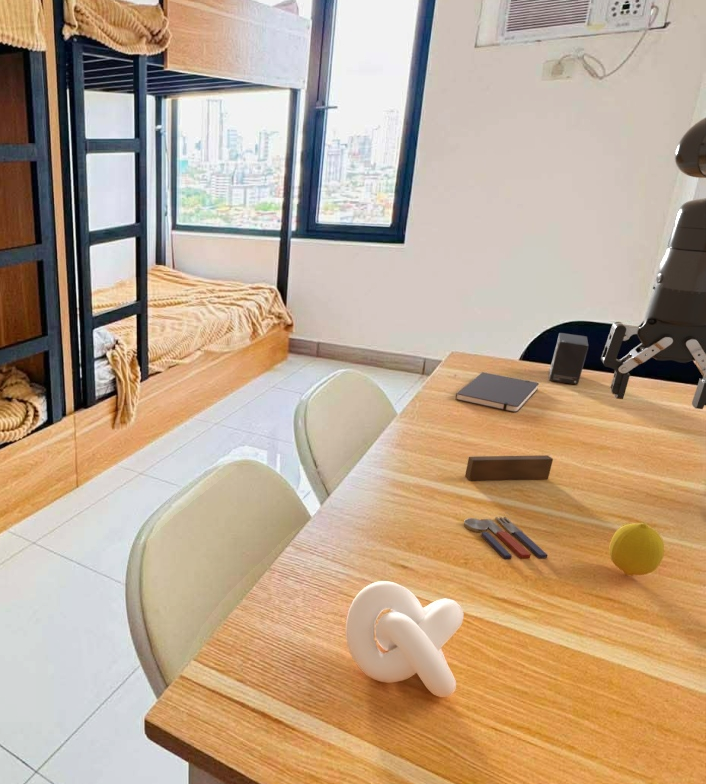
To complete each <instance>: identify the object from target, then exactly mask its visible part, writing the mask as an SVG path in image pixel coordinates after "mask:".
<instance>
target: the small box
mask: <svg viewBox="0 0 706 784" xmlns="http://www.w3.org/2000/svg"><path fill="white" fill-rule="evenodd" d="M588 350H589V342H588V336H585V335H578V334H570V333H565V332H559V333H558V336H557V341H556V345H555V348H554V352H553V356H552V360H551V363H550V367H549V371H548V381H549V382H556V383H563V384H571V385H579V382H580V379H581V376H582V372H583V368H584V364H585V361H586V358H587V354H588Z"/></svg>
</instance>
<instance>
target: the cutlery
mask: <svg viewBox="0 0 706 784" xmlns="http://www.w3.org/2000/svg"><path fill="white" fill-rule="evenodd" d="M494 520H495V521H496V522H497V523H498V524H499V525H500V526H501V527H502V528H503V529H504V530H503V529H502V528H501V527H500V526H499V525H498V524H497V523H496V522H495V521H493V519H491V518H483V519H481V518H480V519H479V518H473V517H467V518H466V519H464V521H463V526H464V528H465V529H467V530H468V531H471V532H474V533H480V536H481V537H482V538H483V540H485V542H487V543H488V545H490V546H491V547H492V548H493V550H494V551H496V553H498V555H500V556H501V557H502V558H503V560H511V559H512V557H513V555H512V554H511V553H510V552H509V551H508V550H507V549H506V548H505V547H504V546H503V545H502V544H501V543H500V542H499V541H498V540H497V539H495V537H494V536H492V535H491V534H490V533H489V531H490V532H491V533H492V534H493V535H495V536H496V537H497V538H498V539H500V541H501V542H503V544H504V545H506V546H507V547H508V548H509V549H510V550H511V552H513V553H514V554H515V555H516V556H517V557H518V558H519V559H520V560H521V559H523V560H524V559H528V560H529V559H531V557H532V554H533V555H535V557H536V558H538V559H548V556H549V554H548V553H547V552H546V551H544V550H543V549H542V548H541V547H540V546H538V544H536V543H535V542H534V541H533V540H532V538H530V537H529V536H528V535H526V534H525V533H524V532H523V531H522V530H521V529H520V528H519V527H518V526H517V525H516V524H515V523H513V521H511V520H509V518H508V517H506V516H503V517H502V516H499V517H497V516H495V517H494ZM488 530H489V531H488ZM513 536H514V537H515V538H516V539H517V540H518V541H519V542H518V541H517V540H516V539H515V538H514V537H513ZM521 543H522V545H521ZM524 546H525V547H526V548H525V547H524ZM527 549H528V550H529V551H530V552H531V553H532V554H531V553H530V552H529V551H528V550H527Z"/></svg>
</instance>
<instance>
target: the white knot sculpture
mask: <svg viewBox="0 0 706 784" xmlns="http://www.w3.org/2000/svg"><path fill="white" fill-rule="evenodd" d="M386 610H390V611H388V612H386V613H383V612H384V611H386ZM381 613H383V614H382V615H381ZM380 615H381V616H380ZM379 616H380V617H379ZM464 616H465V613H464V611H463V608H462V606H461V605H460V604H459V603H458V602H457V601H455V600H454V599H451V598H441V599H437V600H435V601H432V602H431V603H429V604H427V605H426V606H424V607H423V605H422V603H421V602H420V600H419V599H418V598H417V596H416V595H415V594H414V593H413V592H411V590H409V589H408V588H407V587H404V586H403V585H400V584H398V583H396V582H393V581H389V580H388V581H387V580H385V581H383V580H381V581H375V582H371V583H370V584H367V586H365V587H364V588H362V589H361V590H360V591H359V592H358V593H357V595H356V596H355V597H354V599H353V600H352V602H351V604H350V606H349V608H348V612H347V617H346V621H345V638H346V645H347V648H348V651H349V654H350V656H351V658H352V660H353V662H354V663H355V664H356V665H357V667H358V668H359V670H360V671H361V672H362V673H364V674H365V675H366V676H367V677H369V678H371V679H372V680H375V681H377V682H380V683H387V684H388V683H389V684H390V683H398V682H402V681H405V680H407V679H410V678H411V677H413V676H415V675H416V674H417V675H418V677H419V678H420V680H421V682H422V683H423V685H424V686H425V688H426V689H427V690H428V691H429V692H430V693H431V694H432V695H433V696H436V697H439V698H442V699H443V698H446V697H451V696H452V695H453V693H454V692H455V691H456V689H457V681H456V678H455V676H454V674H453V672H452V670H451V668H450V666H449V665H448V661H447V659H446V658H445V655H444V652H443V650H442V648H443V647H444V645H446V643H447V642H448V641H450V639H451V638H452V637H453V636H454V635H455V634H456V632H457V631H458V630H459V629H460V627H461V626H462V624H463V622H464ZM378 618H379V619H378ZM377 644H378V645H379V647H381V649H382V650H383V651H385V652H382V651H381V650H380V649H379V647H378V645H377Z"/></svg>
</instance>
